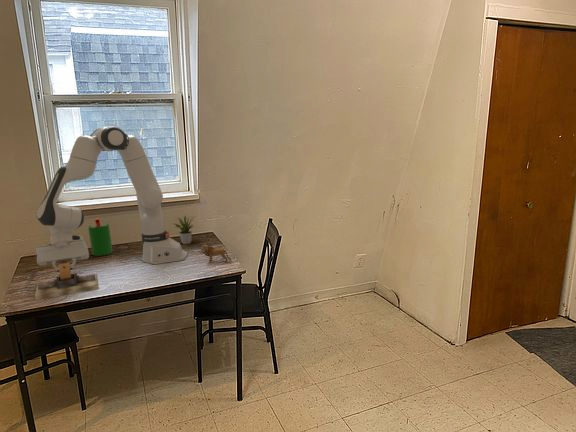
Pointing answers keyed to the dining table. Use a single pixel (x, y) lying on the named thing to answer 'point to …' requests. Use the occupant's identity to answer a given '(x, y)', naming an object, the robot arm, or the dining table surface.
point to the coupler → (64, 270)
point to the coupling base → (66, 286)
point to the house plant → (185, 230)
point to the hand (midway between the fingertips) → (64, 270)
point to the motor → (100, 239)
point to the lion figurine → (214, 252)
